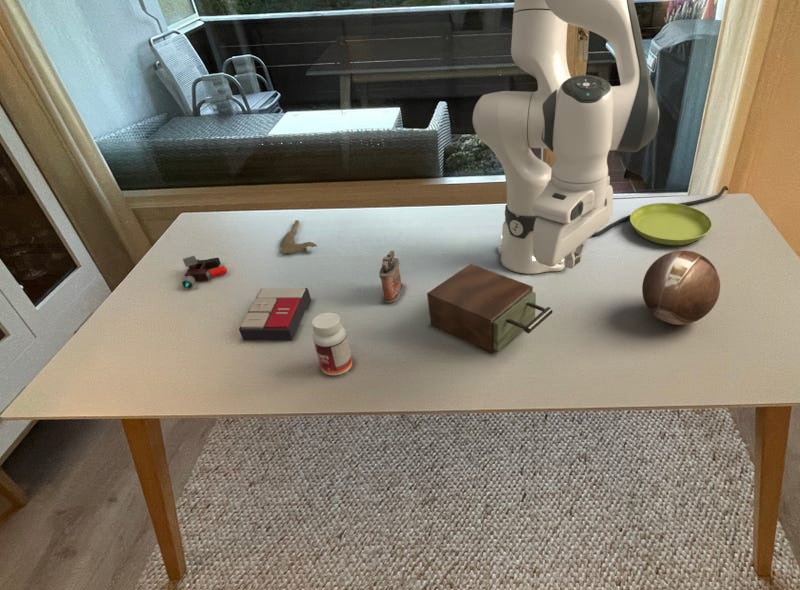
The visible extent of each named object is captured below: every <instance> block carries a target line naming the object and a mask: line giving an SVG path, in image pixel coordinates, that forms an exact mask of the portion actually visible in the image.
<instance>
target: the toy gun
mask: <svg viewBox="0 0 800 590" xmlns="http://www.w3.org/2000/svg"><path fill="white" fill-rule="evenodd" d="M182 261H183V263H184V266H185V267H186V268H187V267H188V268H187V270H186V271H185V273H184V278H183V280H182V281H181V286H182V287H183V288H184V289H186V290H191V289H192V288H193V287H194V285H195V284H196V282H197V283H198V282H209V278H212V279H213V278H217V277H221V276H223V275H226V274H227V273H228V268H227V267H226V266H224V265H221V263H222V262H221V260H220V258H219V257H212V258H207V259H197V258H196V255H191V256H188V257H185V258H182Z"/></svg>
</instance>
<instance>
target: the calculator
mask: <svg viewBox="0 0 800 590" xmlns="http://www.w3.org/2000/svg"><path fill="white" fill-rule="evenodd" d="M311 303H312V297H311V294H310V291H309V288H308V287H262V288H260V290H259V291H258V293H257V295H256V297H255V299H254V301H253V302H252V304H251V305H250V308H249V310H247V311H248V312H247V313H246V315H245V317H244V319H243V321H242V322H241V323H240V326H239V328H238V332H239V335H240V336H241V339H242V340H243V341H293V340H294V339H295V337H296V335H297V331H298V329H299V328H300V325H301V323H302V320H303V318H304V315H305V313H306V311H308V310H309V308H310V305H311Z"/></svg>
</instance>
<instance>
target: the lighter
mask: <svg viewBox="0 0 800 590" xmlns="http://www.w3.org/2000/svg"><path fill="white" fill-rule="evenodd" d="M395 252H396V251H394V250H393V249H392V250H389V251H388V253H387V255H386V256H383V258H382V263H381V267H380V269H379V273H378V275H379V279H380V281H381V287H382V293H383V303H384V304H385V305H393V304H395V303H396V302H397V301H398V300H399V298H400V297H401V295H402V293H403V290H404V286H403V283H402V278H401V277H402V276H401V270H400V259H399V258H397V257H395V256H396V254H395Z"/></svg>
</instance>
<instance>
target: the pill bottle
mask: <svg viewBox="0 0 800 590" xmlns="http://www.w3.org/2000/svg"><path fill="white" fill-rule="evenodd" d="M311 326H312V330H313V334H312V340H313V344H314V345H313V346H314V348H315V352H316V355H317V359H318V362H319V366H320V369H321V371H322V372H323V373H324V374H326V375H327V376H339V375H343V374H345V373H347V372H348V371H350V369H351V368H352V366H353V358H352V354H351V349H350V346H349V341H348V336H347V333H346V329H345V328H344V327H343V325H342V321H341V318H340V315H338V314H337V313H334V312H323V313H320V314H317V315H316V316H315V317H313V319H312V320H311Z"/></svg>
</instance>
